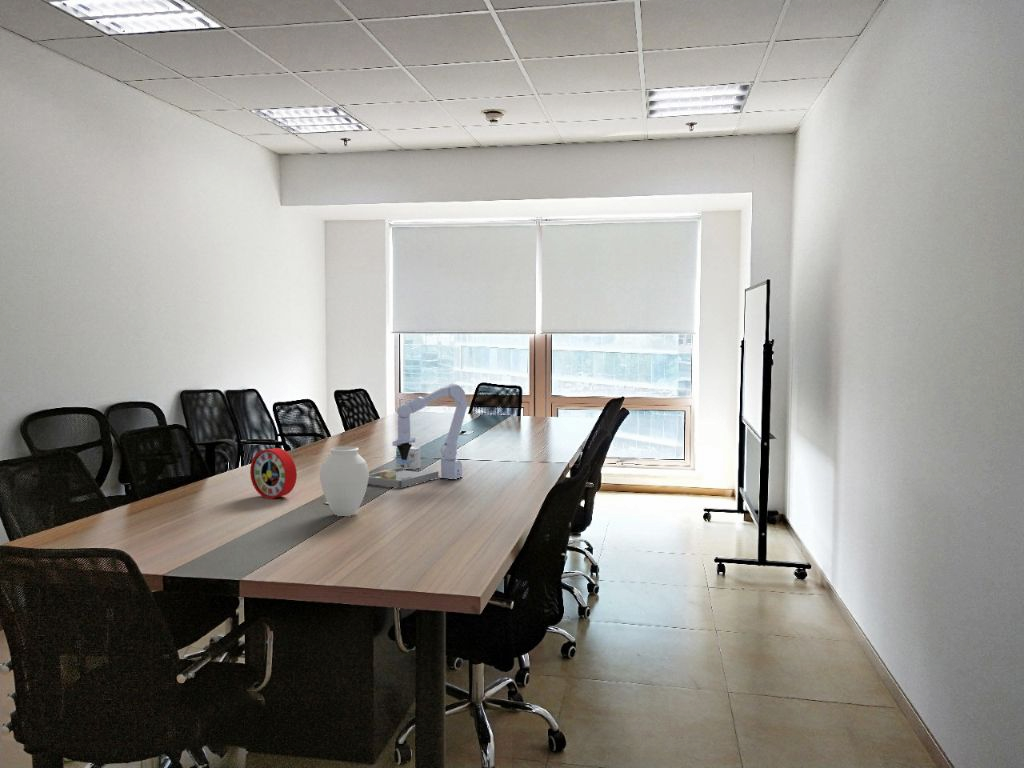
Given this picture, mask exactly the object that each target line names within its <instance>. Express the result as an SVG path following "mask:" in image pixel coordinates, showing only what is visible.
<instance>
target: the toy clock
mask: <svg viewBox="0 0 1024 768" xmlns="http://www.w3.org/2000/svg"><path fill="white" fill-rule="evenodd" d="M249 469H250V470H249V471H250V473H249V474H250V475H249V477H250V480H251V483H252V486H253V488H254V490H255V491H256V492H257V493H258V494H259V495H260V496H261V497H263V498H265V499H270V498H272V499H276V498H279V497H284V496H287V495H289V494H290V493H291V492H292V491H293V489H294V487H295V485H296V482H297V477H298V475H297V467H296V463H295V461H294V459H293V457H292V455H291V454H290V453H289V452H288V451H286V450H285V449H283V448H281V447H280V448H279V447H273V448H269V449H268V448H267V449H264V450H263V449H262V450H260V451H259V452H258V453H256V454H255V455H254V457H252V460H251V463H250V468H249Z"/></svg>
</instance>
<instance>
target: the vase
mask: <svg viewBox="0 0 1024 768" xmlns="http://www.w3.org/2000/svg"><path fill="white" fill-rule="evenodd" d="M329 450H330V455H329V456H328V457H326V459H325V460H324V461H323V463H322V464H321V466H320V473H319V479H320V483H321V488H322V492H323V495H324V498H325V500H326V502H327V504H328V506H329V508H330V509H331V511H332V512H333V513H334V515H335V516H336V515H337V516H336V517H339V516H348V517H352V516H351V515H353V516H355V514H356V512H357V511H358V510H359V508H360V506H361V504H362V502H363V500H364V497H365V495H366V491H367V487H368V479H369V474H370V471H369V465H368V464H367V461H366V460H365V459H364V458H363V457H362V455H360V454H359V452H358V451H359V450H360V449H359V447H357V446H351V445H346V446H345V445H343V446H341V445H340V446H333V447H332V448H331V447H330V449H329Z"/></svg>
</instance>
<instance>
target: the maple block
mask: <svg viewBox="0 0 1024 768" xmlns="http://www.w3.org/2000/svg"><path fill="white" fill-rule="evenodd" d="M379 472H380V478H386V479H393V480H396V471H394V470H390V469H385V470H384V469H383V470H381V471H379Z"/></svg>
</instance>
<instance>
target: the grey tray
mask: <svg viewBox="0 0 1024 768" xmlns="http://www.w3.org/2000/svg"><path fill="white" fill-rule="evenodd" d="M389 470H394V471H396V480H393V479H386V478H380V471H378V472H373V473H369V479H368V484H374V485H373V486H375V485H381V486H380V487H383V486H388V487H387V488H390V487H396V488H395V489H397V488H402V487H405V486H409V485H413V484H416V483H420V482H424V481H428V480H431V479H435V478H438V477H439V470H435V471H432V472H421V471H415V470H406V469H403V467H399V468H396V467H395V468H391V469H390V468H389ZM438 479H439V478H438ZM428 482H429V481H428ZM424 483H425V482H424ZM368 484H367V485H368ZM420 484H421V483H420ZM413 486H414V485H413ZM409 487H410V486H409ZM405 488H406V487H405ZM402 489H403V488H402Z"/></svg>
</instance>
